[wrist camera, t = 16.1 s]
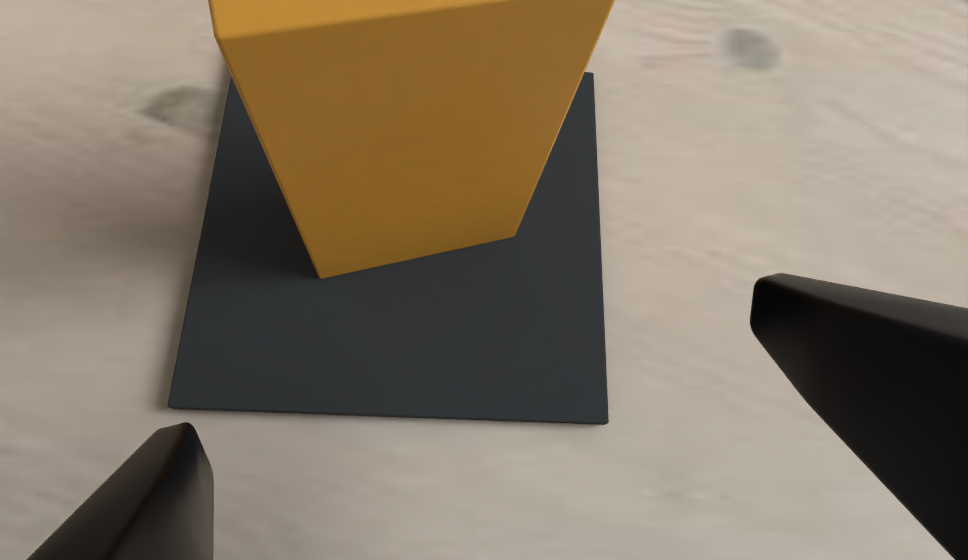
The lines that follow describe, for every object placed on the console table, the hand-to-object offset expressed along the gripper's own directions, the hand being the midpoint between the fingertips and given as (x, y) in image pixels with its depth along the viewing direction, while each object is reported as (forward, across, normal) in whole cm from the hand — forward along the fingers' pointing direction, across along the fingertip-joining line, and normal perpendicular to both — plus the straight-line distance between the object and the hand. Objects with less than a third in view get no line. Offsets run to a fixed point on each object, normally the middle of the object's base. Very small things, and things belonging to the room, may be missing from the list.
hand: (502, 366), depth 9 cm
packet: (+10, 0, +1) cm, 10 cm away
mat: (+10, 0, +1) cm, 10 cm away
